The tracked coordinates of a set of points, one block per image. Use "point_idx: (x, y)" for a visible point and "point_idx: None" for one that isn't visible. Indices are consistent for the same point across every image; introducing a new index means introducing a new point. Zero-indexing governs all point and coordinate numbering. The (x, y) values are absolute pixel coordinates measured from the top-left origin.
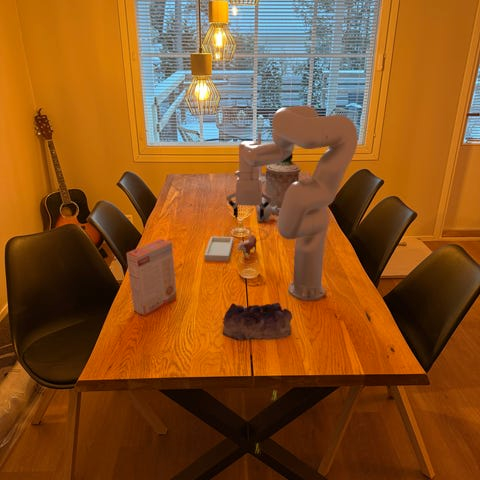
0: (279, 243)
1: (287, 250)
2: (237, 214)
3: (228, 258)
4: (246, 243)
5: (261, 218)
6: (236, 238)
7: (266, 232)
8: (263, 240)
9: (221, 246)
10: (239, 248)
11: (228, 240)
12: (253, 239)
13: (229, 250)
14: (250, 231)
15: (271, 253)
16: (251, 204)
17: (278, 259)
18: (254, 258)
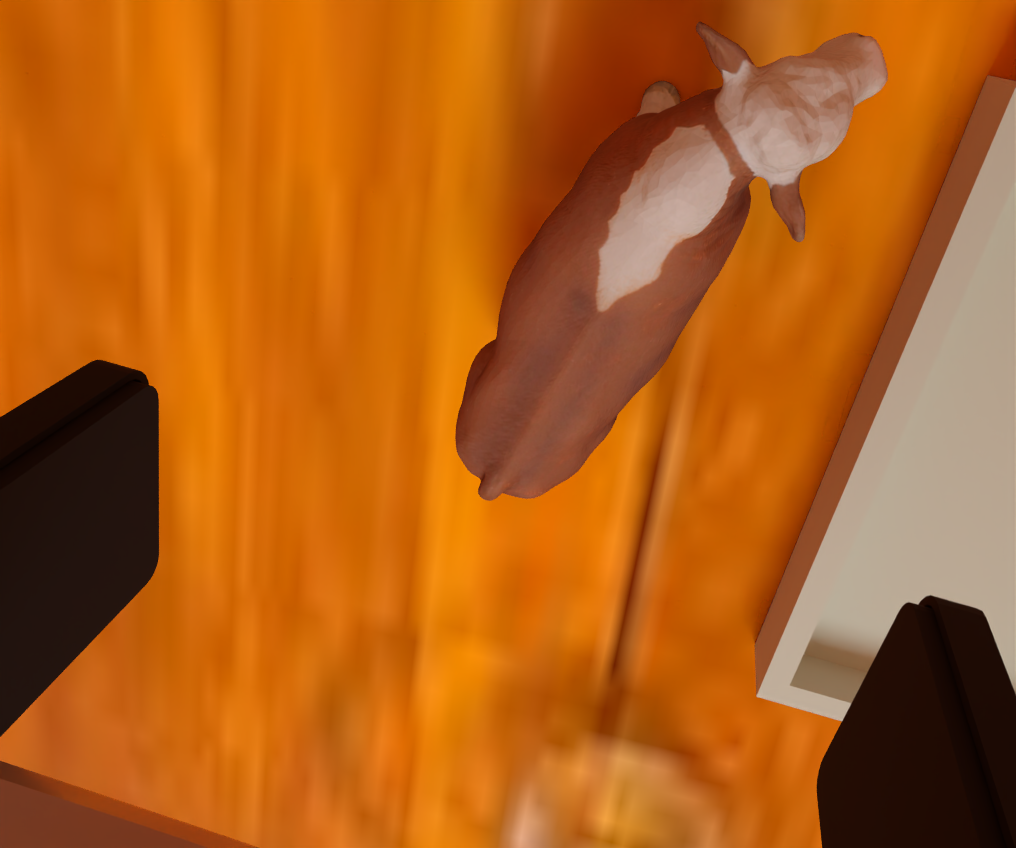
0: (212, 501)
1: (125, 304)
2: (855, 774)
3: (1005, 82)
4: (671, 138)
5: (94, 364)
6: (687, 730)
7: (336, 769)
8: (383, 610)
9: (965, 547)
10: (838, 46)
11: (822, 669)
12: (505, 359)
13: (934, 298)
14: (499, 832)
15: (316, 254)
16: (36, 832)
17: (235, 49)
18: (560, 132)
